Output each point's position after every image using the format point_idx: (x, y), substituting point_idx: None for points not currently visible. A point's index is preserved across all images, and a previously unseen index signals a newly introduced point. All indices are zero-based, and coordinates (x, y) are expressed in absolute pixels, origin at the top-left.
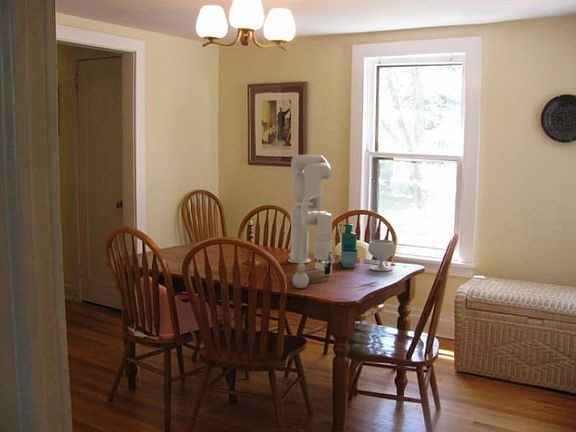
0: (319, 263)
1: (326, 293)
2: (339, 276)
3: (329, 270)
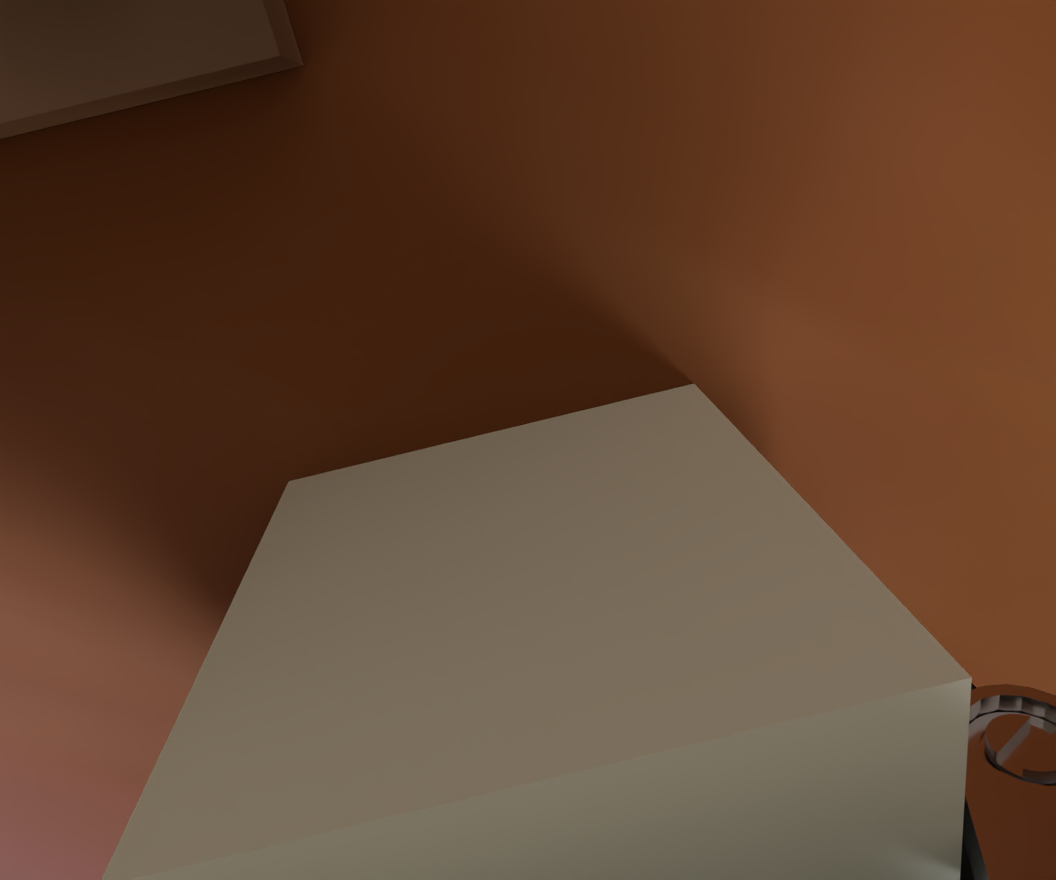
0: (480, 802)
1: None
2: None
3: None
